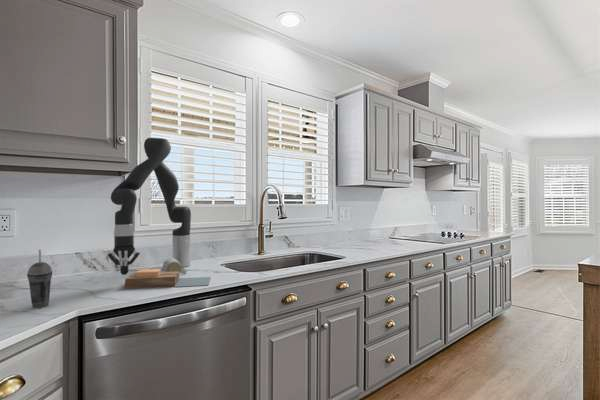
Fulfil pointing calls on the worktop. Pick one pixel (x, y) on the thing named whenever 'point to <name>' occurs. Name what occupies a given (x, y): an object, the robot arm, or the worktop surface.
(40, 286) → the beverage cup
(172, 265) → the ceramic mug
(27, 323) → the worktop surface
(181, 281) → the mat
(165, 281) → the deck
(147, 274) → the orange tan rectangular block
